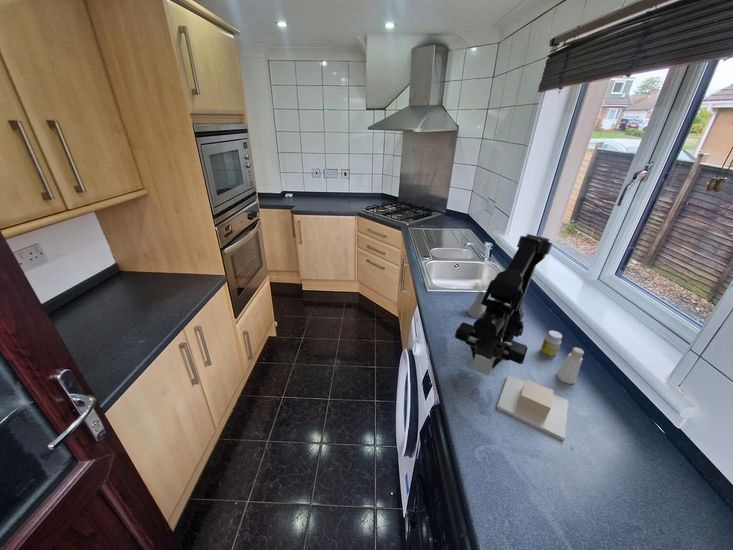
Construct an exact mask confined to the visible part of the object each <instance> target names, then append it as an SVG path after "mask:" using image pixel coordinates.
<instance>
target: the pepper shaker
mask: <svg viewBox="0 0 733 550" xmlns="http://www.w3.org/2000/svg"><path fill="white" fill-rule="evenodd" d="M584 354H585V352H584V350H583V349H582V348H580V347H573V348H572V350H571V352H570V353H568V355H567V356H566V357H565V359H564V360H563V362H562V364H561V366H560V367H559V369H558V370H557V372H556V374H555V375H556V377H557V378H558V379H559V380H560V381H562V382H563V383H566V384H568V385H570V384H573V385H574V384H575V383H576V380H577V378H578V375H579V372H580V368H581V365H582V362H583V360H584V358H583V356H584Z"/></svg>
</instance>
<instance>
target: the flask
mask: <svg viewBox="0 0 733 550" xmlns="http://www.w3.org/2000/svg"><path fill="white" fill-rule="evenodd" d="M485 293H486V292H484V291H482V290H481V291H480V290H478V291H476V294H477V295H476V297H475V300H474V301H473V302H472V304H471V305H470V306H469V308H468V309H467V310H466V313H468V315H469V316H470V317H472V318H474V319H478V318H479V317H480V316H481V315H482V313H483V312H484V311H485V310H486V306H484V305H482V304H481V302H482V300H483V298H484V295H485Z"/></svg>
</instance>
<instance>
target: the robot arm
mask: <svg viewBox="0 0 733 550" xmlns="http://www.w3.org/2000/svg"><path fill="white" fill-rule="evenodd" d="M518 239H519V240H518V242H517V245H516V247H517V250H516V252H515V254H514V255H513V257H512V259H511V261H510V262H509V264H508V266H507V268H506V269H505V270H502V271H500V272H498V273H497V274H496V276H495V277H494V279H491V280H490V282H489V284H488V286H487V289H486V291H485V292H484V293H485V295H484V298H483V300H482V302H481V304H482V305H484V306H485V311H484V312H483V313H482V315H481V316H480V317H479V318H476V319H475V321H474V323H473V324H469V323H467V322H461V323H460V324H459V325H458V327H457V329H456V330H455V334H454V338H455V339H456V340H459V341H462V342H464V343H465V344H466V345H468V346H469V347H470V349H471V354H472V359H473V361H474V358H475V355H476V354H478V355H481V356H483V357H486V358H487V359H492V358H493V357H495V358H496V359H495V361H494V363H493V366H492V370H494V369H495V368H496V366H497V365H498V364H499V363H500V362H502V361H506V362H507V361H512V362H514V363H516V364H519V365H522V364H524V361H525V358H526V354H527V352H528V347H527V345H526V344H523V343H521V342H518V341H515V340H514V339H515V338H518V337H520V336H522V334H523V331H524V321H522V320H523V318H524V312H523V309H522V305H523V302H524V299H525V296H526V294H527V291H528V289H529V285H530V282H531V280H532V278H533V274H534V272H535V269H536V267H537V265H538V264H539V263H540V262H542V261H543V260H544V259H545V258H546V255H549V253H550V252H551V249H552V246H553V244H552V242H549V241H550V239H549V238H546V237H542V236H537V235H535V234H533V235H532V234H530V233H529V234H526V236H523V235H520V236H519V238H518ZM489 297H490V298H491V299H490V298H489Z"/></svg>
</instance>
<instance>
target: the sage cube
mask: <svg viewBox="0 0 733 550" xmlns="http://www.w3.org/2000/svg"><path fill="white" fill-rule="evenodd" d="M495 359H496V358H495V357H493V358H492V359H487V358H486V357H483V356H481V355H478V354H476V355H475V358H474V360H473V362H472V367H471V369H472V370H474V371H477V372H479V373H481V374H483V375H486V376H488V377H489V376H490V375H491V372H492V371H493V369H492V366H493V363H494V361H495Z"/></svg>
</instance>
